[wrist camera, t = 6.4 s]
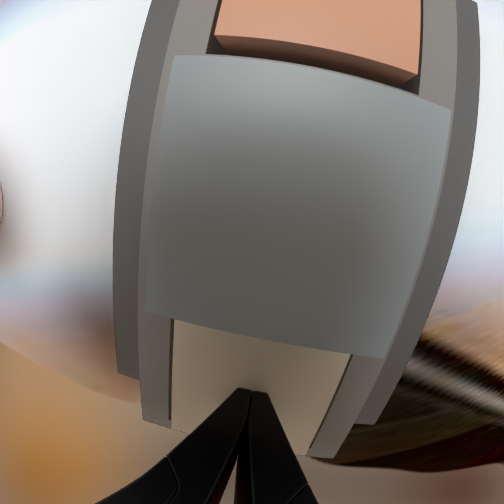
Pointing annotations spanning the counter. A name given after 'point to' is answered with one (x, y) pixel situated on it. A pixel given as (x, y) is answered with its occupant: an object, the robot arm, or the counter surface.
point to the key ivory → (252, 378)
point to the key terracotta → (327, 35)
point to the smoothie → (1, 204)
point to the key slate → (290, 202)
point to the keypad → (141, 184)
